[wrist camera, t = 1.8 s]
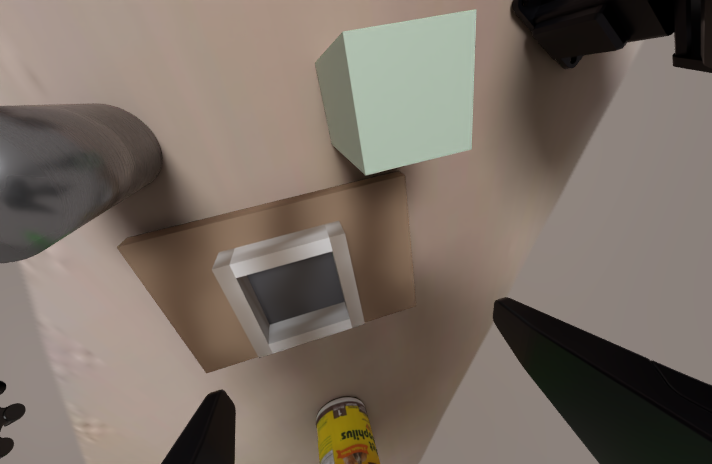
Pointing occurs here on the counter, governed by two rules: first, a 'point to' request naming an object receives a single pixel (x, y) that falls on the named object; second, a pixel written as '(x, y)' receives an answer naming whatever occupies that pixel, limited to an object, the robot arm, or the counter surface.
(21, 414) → the valve
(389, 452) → the counter surface
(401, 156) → the square peg
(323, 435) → the supplement bottle
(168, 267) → the bore board
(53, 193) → the round peg
